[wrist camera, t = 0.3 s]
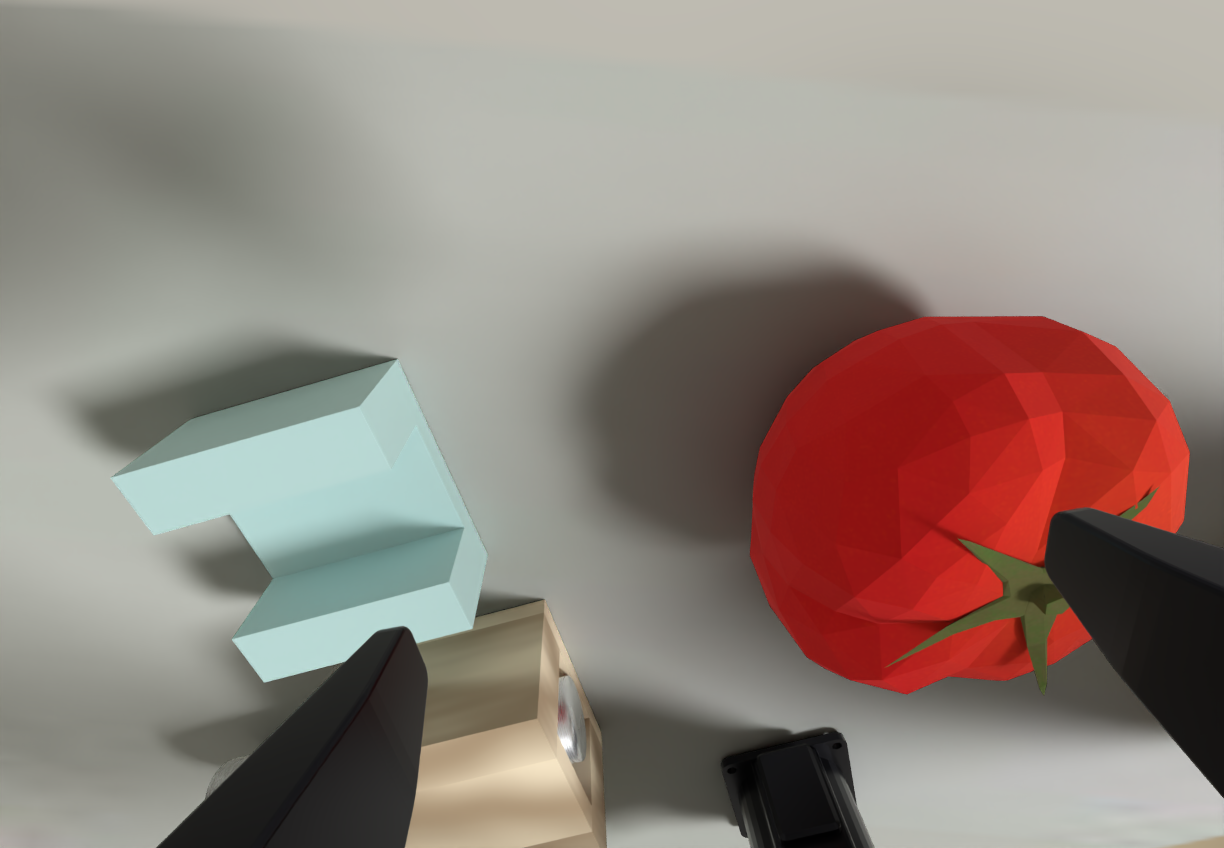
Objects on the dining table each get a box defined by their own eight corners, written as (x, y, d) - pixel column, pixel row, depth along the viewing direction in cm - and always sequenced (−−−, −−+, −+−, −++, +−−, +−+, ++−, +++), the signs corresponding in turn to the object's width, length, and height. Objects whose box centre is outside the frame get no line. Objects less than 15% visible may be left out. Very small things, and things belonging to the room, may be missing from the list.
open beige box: (601, 732, 30) (607, 862, 25) (431, 774, 31) (401, 909, 25) (544, 599, 26) (537, 718, 21) (352, 649, 27) (296, 777, 22)
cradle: (487, 555, 25) (472, 628, 21) (309, 602, 26) (264, 682, 22) (397, 359, 21) (359, 406, 18) (190, 419, 22) (110, 477, 18)
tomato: (652, 465, 24) (700, 670, 15) (903, 205, 20) (1180, 261, 11) (834, 599, 27) (966, 832, 18) (1077, 399, 24) (1398, 565, 14)
